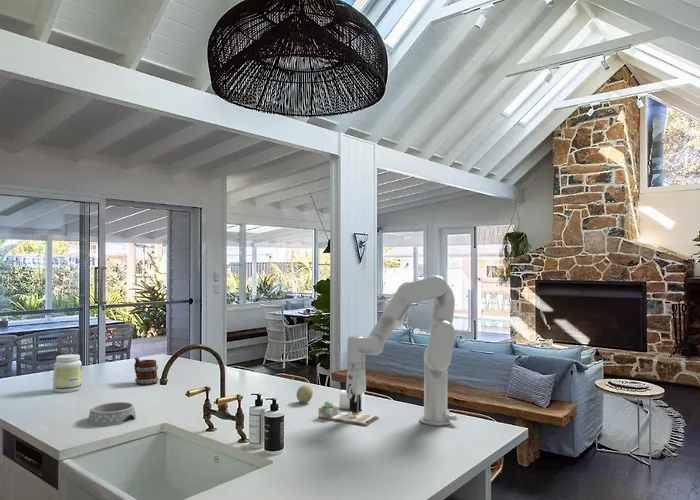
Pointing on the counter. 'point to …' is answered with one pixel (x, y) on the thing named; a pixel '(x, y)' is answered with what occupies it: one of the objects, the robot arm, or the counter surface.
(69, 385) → the supplement tub
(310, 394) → the potato
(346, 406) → the mug
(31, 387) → the counter surface
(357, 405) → the cylinder
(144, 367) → the mug
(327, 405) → the button
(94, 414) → the dog bowl
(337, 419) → the cream tray
